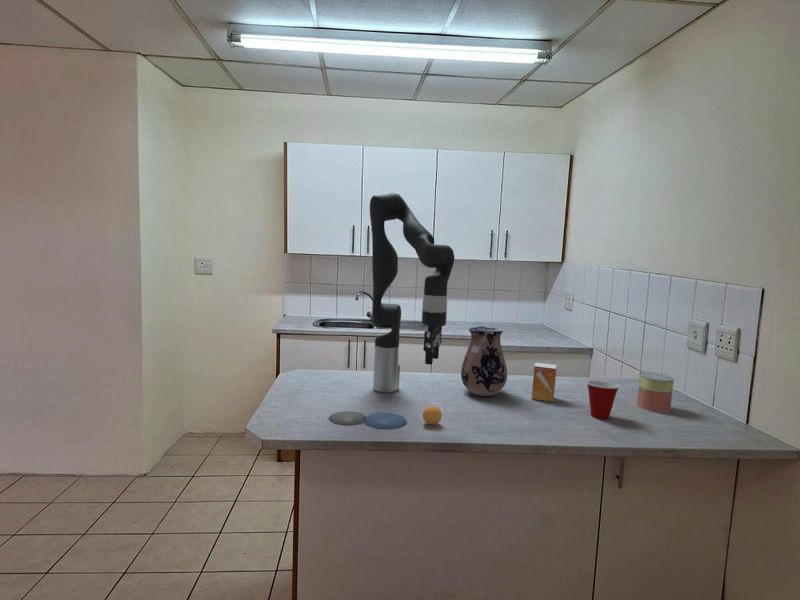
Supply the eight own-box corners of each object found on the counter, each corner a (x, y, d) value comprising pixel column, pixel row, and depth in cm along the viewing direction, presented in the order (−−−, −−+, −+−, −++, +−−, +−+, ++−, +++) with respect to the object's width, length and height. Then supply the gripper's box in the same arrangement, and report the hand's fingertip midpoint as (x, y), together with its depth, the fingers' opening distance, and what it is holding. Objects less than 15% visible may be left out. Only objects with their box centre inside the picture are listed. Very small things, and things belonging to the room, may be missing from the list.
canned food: (674, 408, 192) (678, 377, 190) (665, 415, 183) (668, 382, 182) (642, 400, 199) (645, 370, 198) (632, 407, 191) (635, 375, 189)
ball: (430, 419, 168) (431, 401, 168) (445, 424, 164) (446, 406, 163) (418, 423, 164) (419, 405, 163) (432, 429, 160) (433, 410, 159)
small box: (531, 399, 194) (534, 365, 193) (532, 394, 200) (534, 362, 199) (553, 402, 192) (556, 368, 190) (554, 397, 198) (556, 364, 196)
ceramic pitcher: (469, 401, 189) (474, 334, 186) (450, 384, 210) (454, 323, 207) (513, 399, 193) (518, 333, 190) (491, 383, 214) (495, 323, 211)
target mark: (385, 410, 175) (385, 409, 175) (415, 422, 165) (415, 421, 165) (354, 419, 165) (354, 419, 165) (384, 432, 155) (384, 432, 155)
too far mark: (349, 409, 174) (350, 408, 174) (374, 419, 166) (374, 418, 166) (321, 417, 166) (321, 416, 166) (345, 428, 158) (345, 427, 158)
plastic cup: (615, 413, 182) (618, 380, 181) (617, 423, 172) (621, 389, 171) (583, 409, 186) (586, 376, 184) (583, 418, 176) (586, 384, 174)
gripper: (428, 306, 167) (425, 355, 169) (417, 311, 153) (414, 364, 155) (450, 308, 165) (448, 358, 166) (441, 313, 151) (438, 367, 153)
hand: (431, 361), depth 161 cm, fingers open, 8 cm apart
